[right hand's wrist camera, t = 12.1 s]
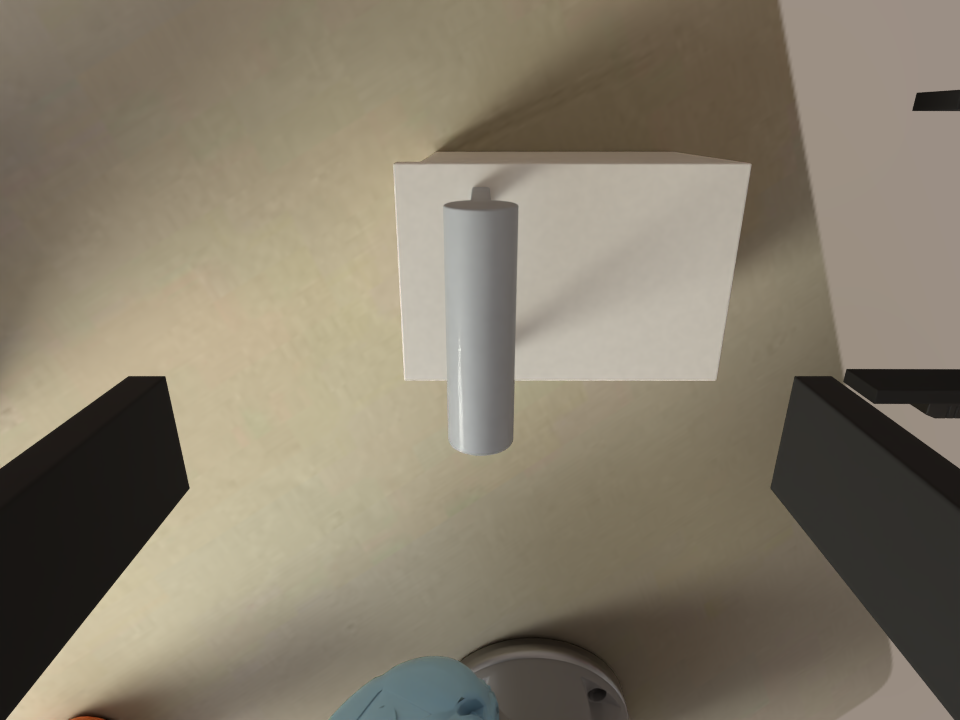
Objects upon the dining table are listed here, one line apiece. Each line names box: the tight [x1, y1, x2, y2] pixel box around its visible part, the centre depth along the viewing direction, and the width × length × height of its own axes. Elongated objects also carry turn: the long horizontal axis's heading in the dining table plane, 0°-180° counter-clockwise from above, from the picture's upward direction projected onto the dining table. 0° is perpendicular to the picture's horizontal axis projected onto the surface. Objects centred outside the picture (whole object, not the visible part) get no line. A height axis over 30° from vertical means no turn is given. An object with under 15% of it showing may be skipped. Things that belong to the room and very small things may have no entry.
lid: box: [393, 162, 752, 456], centre depth 22 cm, size 14×9×8 cm, turn 90°
